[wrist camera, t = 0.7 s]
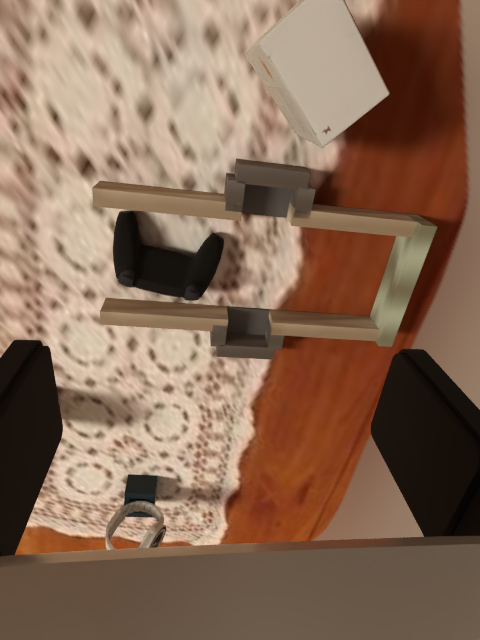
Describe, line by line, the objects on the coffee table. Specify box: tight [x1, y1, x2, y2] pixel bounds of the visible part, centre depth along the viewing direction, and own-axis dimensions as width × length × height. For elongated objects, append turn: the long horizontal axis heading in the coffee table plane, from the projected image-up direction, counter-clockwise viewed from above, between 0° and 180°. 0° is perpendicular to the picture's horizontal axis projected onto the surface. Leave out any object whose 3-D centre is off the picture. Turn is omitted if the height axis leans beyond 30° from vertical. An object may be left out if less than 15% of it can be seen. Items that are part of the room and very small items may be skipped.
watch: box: [106, 475, 166, 550], centre depth 56 cm, size 6×8×11 cm
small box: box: [245, 0, 390, 148], centre depth 30 cm, size 8×6×10 cm
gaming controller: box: [113, 211, 224, 301], centre depth 40 cm, size 11×4×7 cm
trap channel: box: [92, 159, 437, 359], centre depth 42 cm, size 21×33×4 cm, turn 83°
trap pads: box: [227, 184, 292, 335], centre depth 43 cm, size 18×5×1 cm, turn 173°
